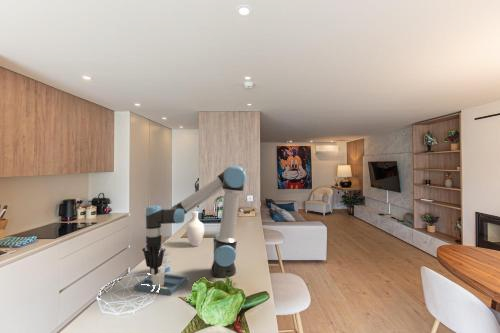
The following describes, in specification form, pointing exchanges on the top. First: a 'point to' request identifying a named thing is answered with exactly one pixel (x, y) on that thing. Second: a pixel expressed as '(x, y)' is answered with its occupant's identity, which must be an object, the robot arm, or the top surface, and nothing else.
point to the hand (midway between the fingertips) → (154, 280)
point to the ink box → (166, 261)
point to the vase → (195, 230)
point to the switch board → (168, 288)
